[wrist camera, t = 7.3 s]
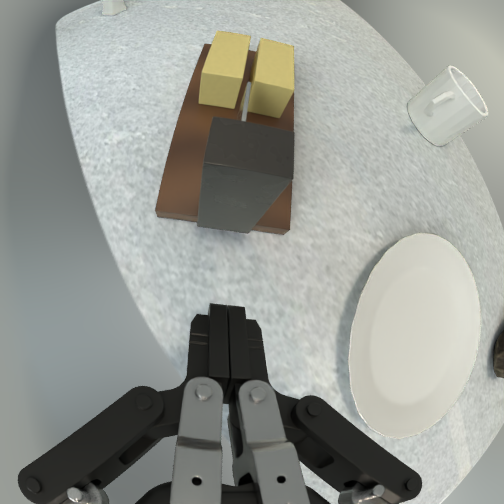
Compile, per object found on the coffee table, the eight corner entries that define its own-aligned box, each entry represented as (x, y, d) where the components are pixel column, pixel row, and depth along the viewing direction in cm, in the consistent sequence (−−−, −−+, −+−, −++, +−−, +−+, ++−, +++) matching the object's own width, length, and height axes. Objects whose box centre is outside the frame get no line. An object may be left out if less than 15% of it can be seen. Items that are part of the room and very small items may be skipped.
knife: (248, 234, 19) (293, 179, 11) (197, 226, 19) (202, 162, 10) (259, 120, 21) (294, 40, 13) (217, 113, 21) (236, 27, 12)
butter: (279, 118, 22) (294, 90, 19) (198, 104, 21) (201, 72, 17) (281, 72, 24) (294, 46, 20) (212, 59, 22) (217, 30, 19)
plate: (388, 462, 20) (400, 469, 18) (288, 328, 21) (299, 331, 18) (481, 336, 26) (493, 336, 24) (421, 203, 26) (435, 197, 24)
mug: (382, 104, 28) (426, 60, 19) (423, 99, 32) (460, 67, 22) (417, 157, 28) (471, 120, 18) (451, 142, 31) (493, 114, 22)
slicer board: (283, 234, 22) (290, 230, 21) (157, 216, 20) (155, 210, 19) (289, 69, 26) (294, 60, 25) (203, 52, 24) (204, 43, 23)
